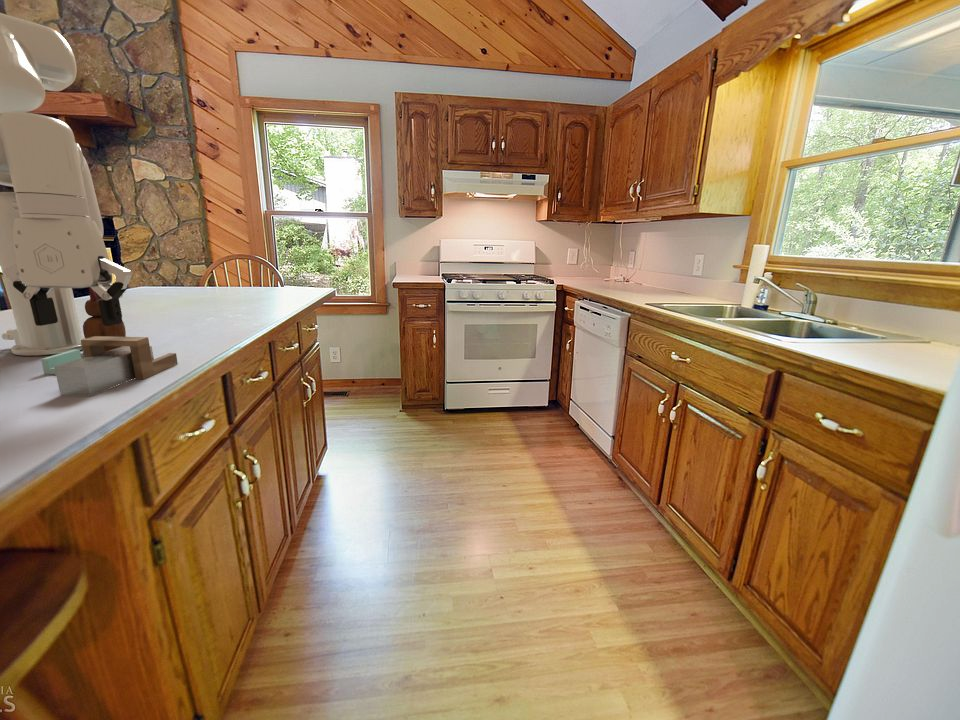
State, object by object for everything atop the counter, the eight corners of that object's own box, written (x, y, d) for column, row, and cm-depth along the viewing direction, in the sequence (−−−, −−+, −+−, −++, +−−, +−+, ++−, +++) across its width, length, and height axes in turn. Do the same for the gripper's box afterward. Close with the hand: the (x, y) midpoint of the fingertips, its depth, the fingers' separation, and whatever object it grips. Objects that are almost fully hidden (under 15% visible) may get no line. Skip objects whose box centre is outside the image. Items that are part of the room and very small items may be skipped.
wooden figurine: (103, 354, 89) (88, 282, 85) (81, 352, 90) (65, 281, 86) (135, 347, 96) (122, 280, 92) (113, 345, 97) (100, 278, 93)
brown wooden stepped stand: (88, 378, 75) (80, 339, 73) (129, 363, 84) (123, 328, 82) (143, 379, 75) (136, 340, 73) (177, 363, 85) (172, 329, 83)
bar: (61, 396, 67) (53, 366, 66) (131, 371, 80) (126, 345, 79) (90, 397, 67) (83, 367, 66) (156, 371, 80) (151, 346, 79)
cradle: (44, 373, 76) (40, 358, 75) (77, 363, 83) (74, 349, 82) (96, 374, 77) (92, 359, 76) (124, 363, 84) (121, 350, 83)
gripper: (-37, 205, 58) (-4, 328, 63) (97, 208, 60) (121, 328, 64) (16, 210, 66) (43, 320, 70) (135, 213, 67) (154, 320, 71)
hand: (80, 324), depth 67 cm, fingers open, 9 cm apart
